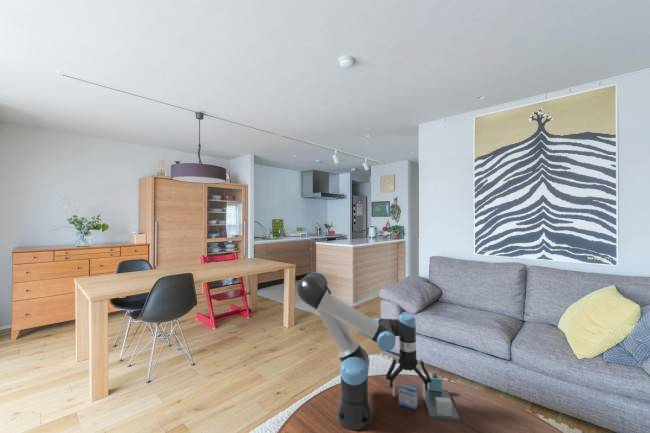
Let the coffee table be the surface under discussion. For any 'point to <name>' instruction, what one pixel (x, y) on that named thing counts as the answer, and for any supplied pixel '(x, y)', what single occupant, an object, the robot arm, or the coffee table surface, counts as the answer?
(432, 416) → the base
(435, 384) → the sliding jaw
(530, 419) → the coffee table surface
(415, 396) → the medicine box
